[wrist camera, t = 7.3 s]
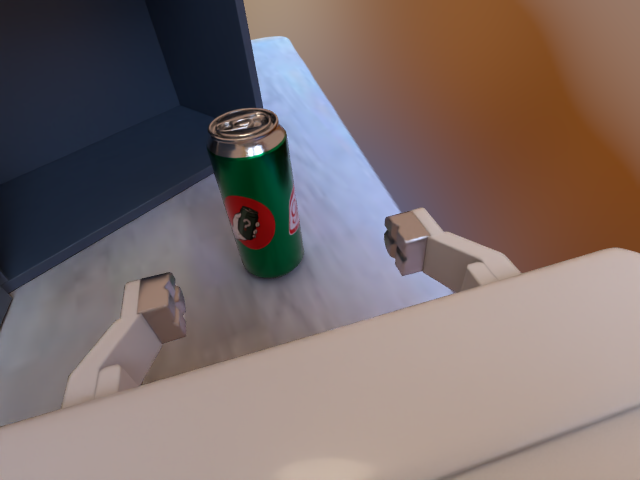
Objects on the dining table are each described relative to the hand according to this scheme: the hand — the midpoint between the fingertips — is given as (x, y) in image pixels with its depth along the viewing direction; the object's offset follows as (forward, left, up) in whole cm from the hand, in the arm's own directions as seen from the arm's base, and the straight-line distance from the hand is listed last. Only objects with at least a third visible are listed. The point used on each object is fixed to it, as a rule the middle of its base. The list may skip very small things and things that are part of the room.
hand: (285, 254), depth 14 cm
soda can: (+7, +10, -12) cm, 17 cm away
